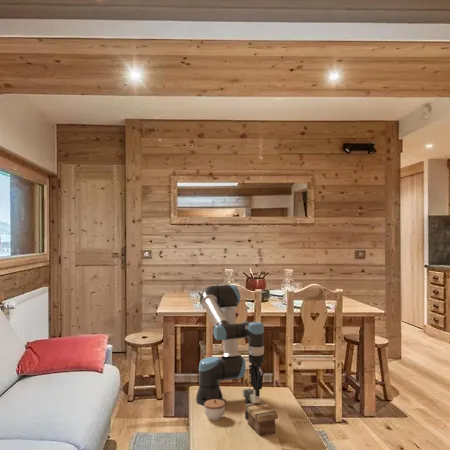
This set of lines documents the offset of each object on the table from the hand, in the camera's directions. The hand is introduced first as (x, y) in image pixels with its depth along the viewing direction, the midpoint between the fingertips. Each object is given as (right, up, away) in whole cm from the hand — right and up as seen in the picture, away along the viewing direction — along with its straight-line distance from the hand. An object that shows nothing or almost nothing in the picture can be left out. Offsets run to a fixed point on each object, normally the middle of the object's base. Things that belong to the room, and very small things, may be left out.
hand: (256, 401), depth 216 cm
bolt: (-2, -2, +6) cm, 7 cm away
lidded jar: (-21, -12, +7) cm, 25 cm away
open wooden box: (+2, -11, -5) cm, 12 cm away
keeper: (-3, -11, +7) cm, 13 cm away
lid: (+2, -4, -5) cm, 6 cm away
